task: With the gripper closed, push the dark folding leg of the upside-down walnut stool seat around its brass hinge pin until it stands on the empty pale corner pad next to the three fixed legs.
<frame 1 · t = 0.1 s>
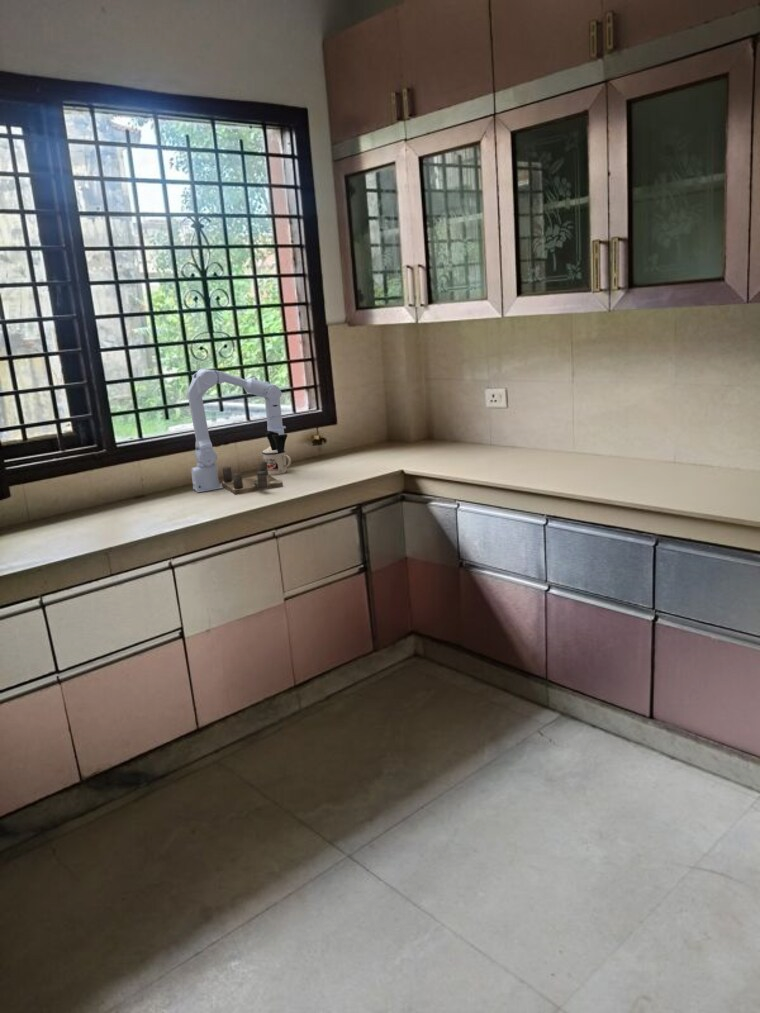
hand: (277, 451, 298), 10 cm above the worktop, tool pointing down, fingers open, 7 cm apart
stool seat: (252, 486, 289), on the worktop
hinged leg: (259, 478, 278), point 5 cm above the worktop, hinge at -90.0°
teacup with lid: (279, 473, 309), on the worktop
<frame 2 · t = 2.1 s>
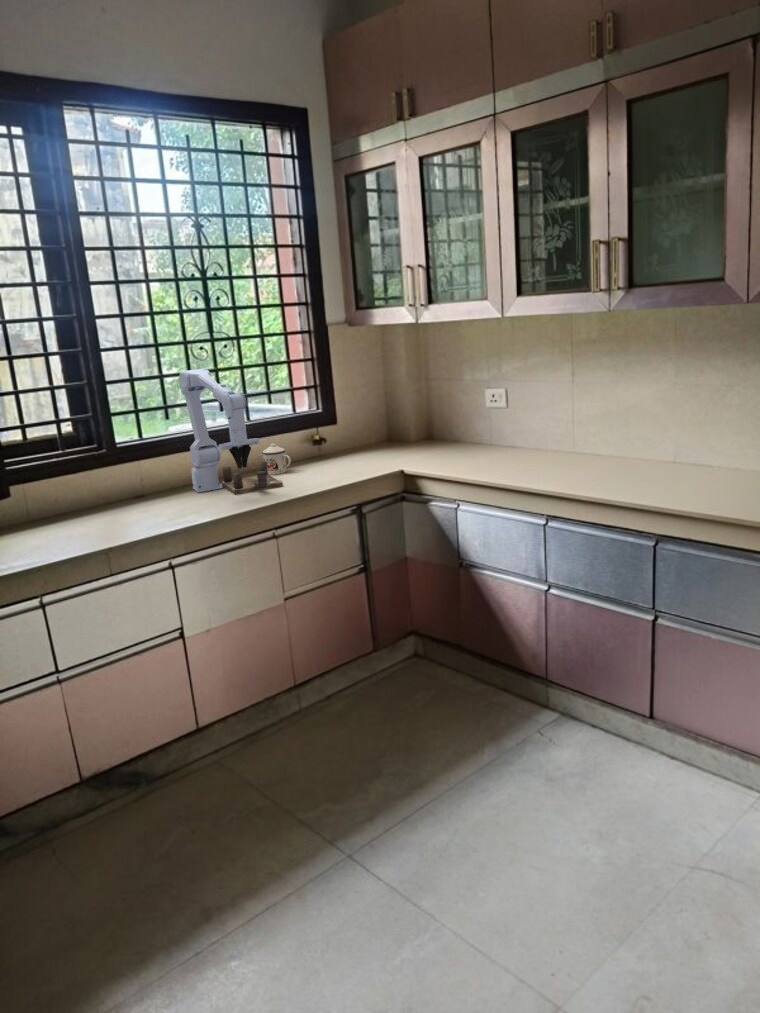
hand: (242, 467, 271), 10 cm above the worktop, tool pointing down, fingers closed
nothing on the worktop moved.
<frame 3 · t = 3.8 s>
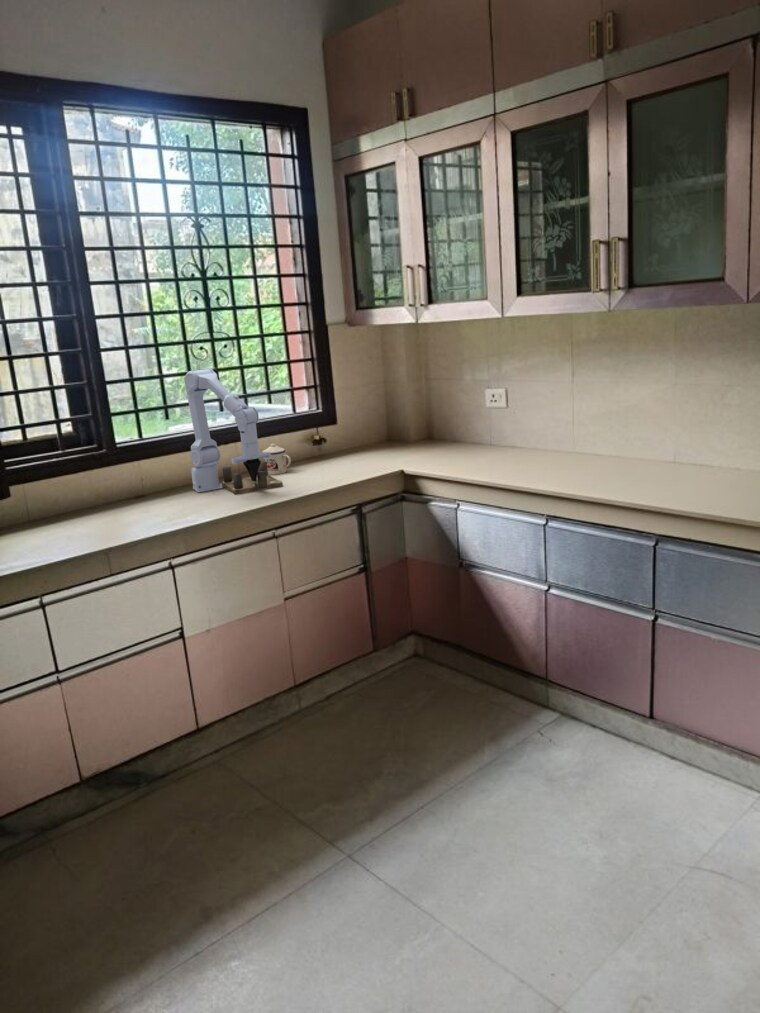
hand: (254, 480, 274), 5 cm above the worktop, tool pointing down, fingers closed
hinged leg: (259, 478, 278), point 5 cm above the worktop, hinge at -90.0°, touching gripper
everything else where it was.
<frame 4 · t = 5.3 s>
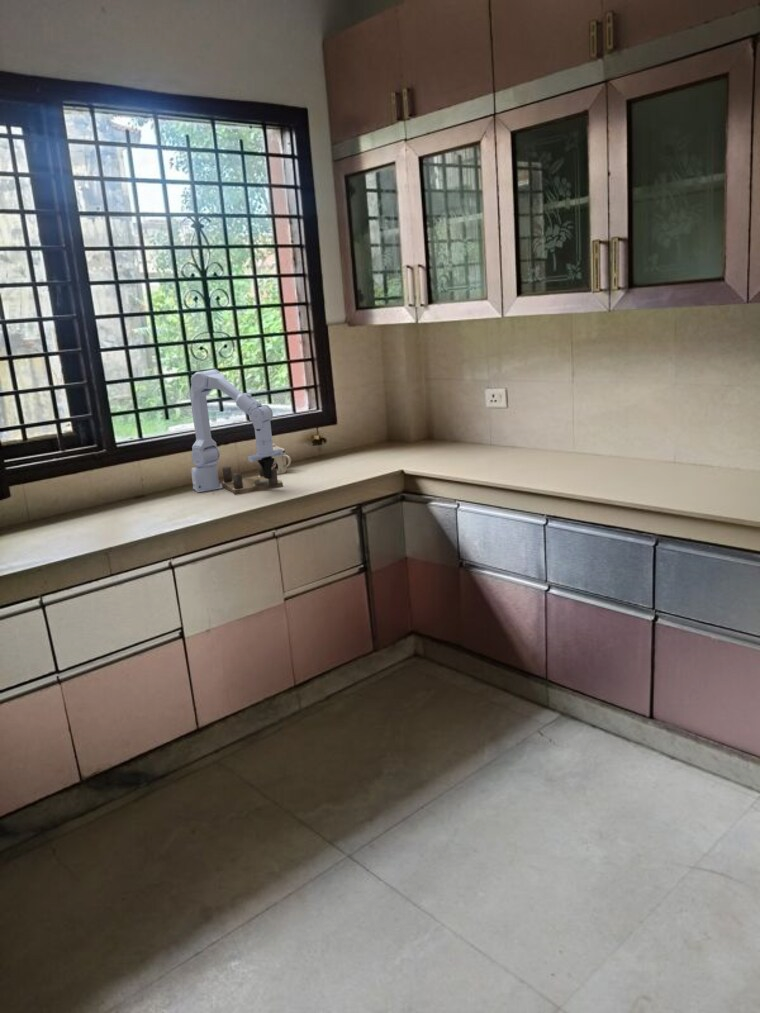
hand: (268, 478, 277), 5 cm above the worktop, tool pointing down, fingers closed, pressing on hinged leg
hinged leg: (265, 476, 280), point 5 cm above the worktop, hinge at -50.9°, touching gripper
everything else where it was.
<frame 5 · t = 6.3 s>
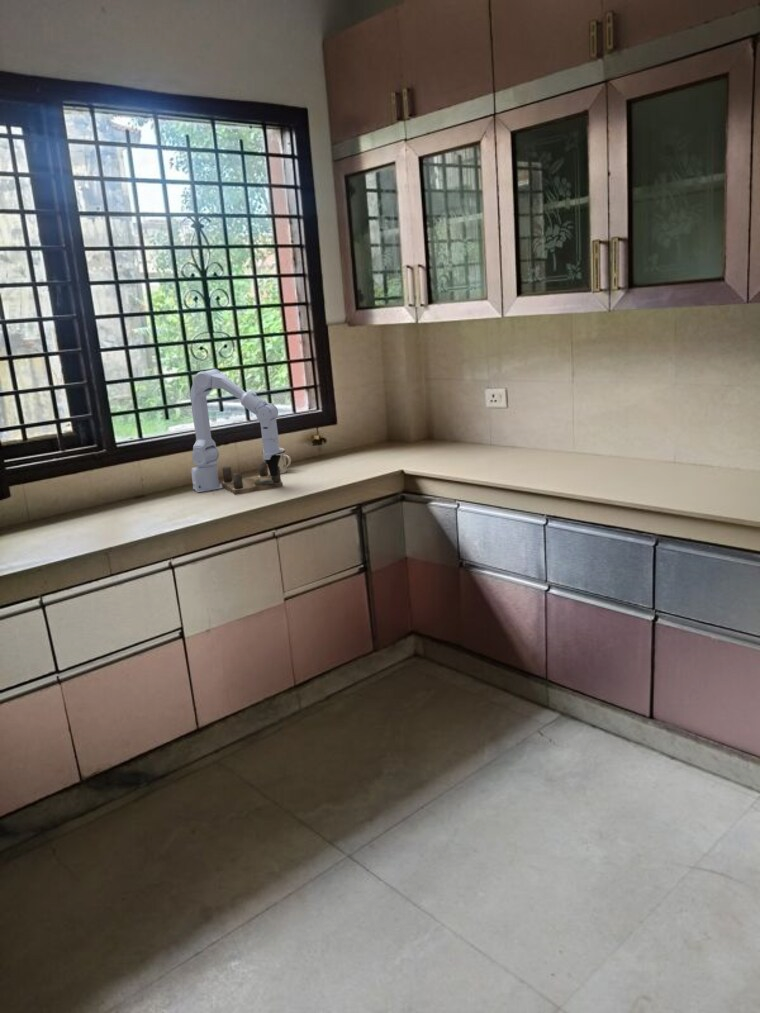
hand: (274, 475, 280), 5 cm above the worktop, tool pointing down, fingers closed, pressing on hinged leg
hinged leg: (267, 475, 282), point 5 cm above the worktop, hinge at -17.6°, touching gripper
everything else where it was.
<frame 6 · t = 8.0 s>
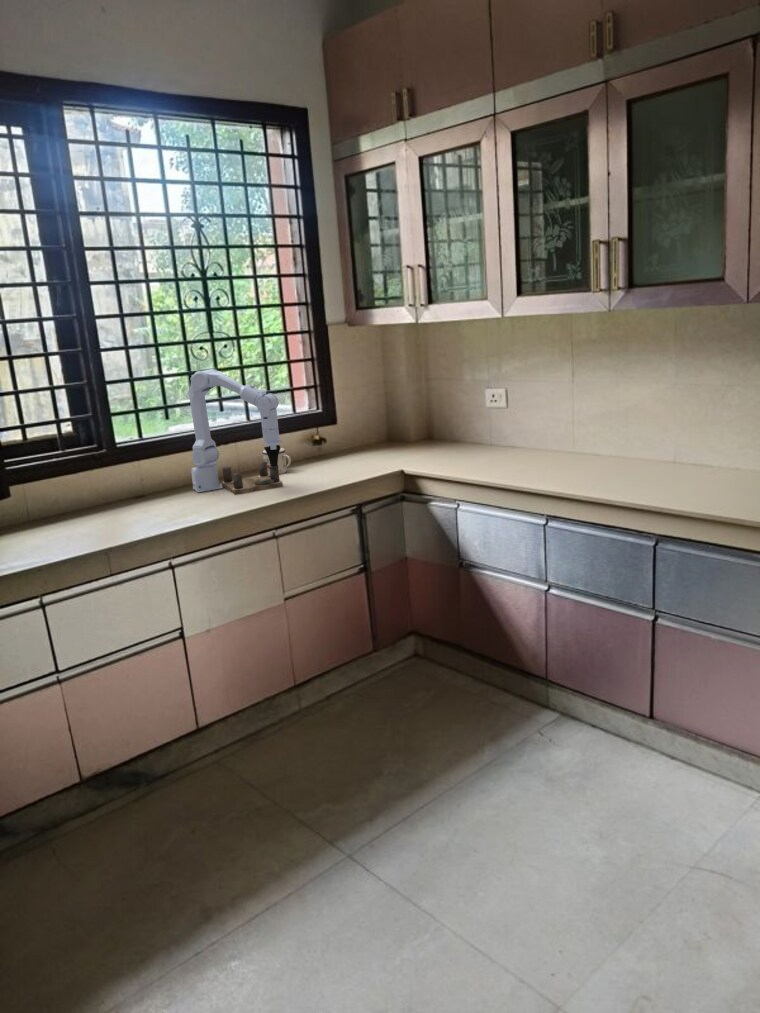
hand: (274, 466, 278), 9 cm above the worktop, tool pointing down, fingers closed
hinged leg: (266, 474, 283), point 5 cm above the worktop, hinge at 2.9°
everything else where it was.
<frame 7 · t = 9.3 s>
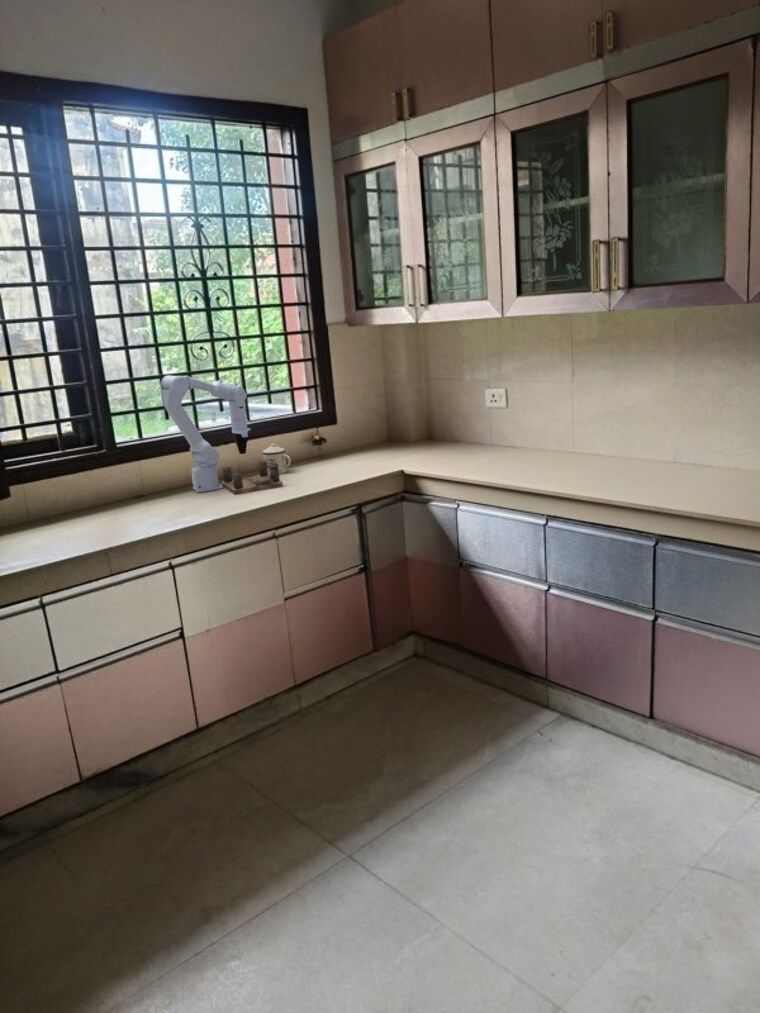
hand: (242, 453, 298), 10 cm above the worktop, tool pointing down, fingers closed
nothing on the worktop moved.
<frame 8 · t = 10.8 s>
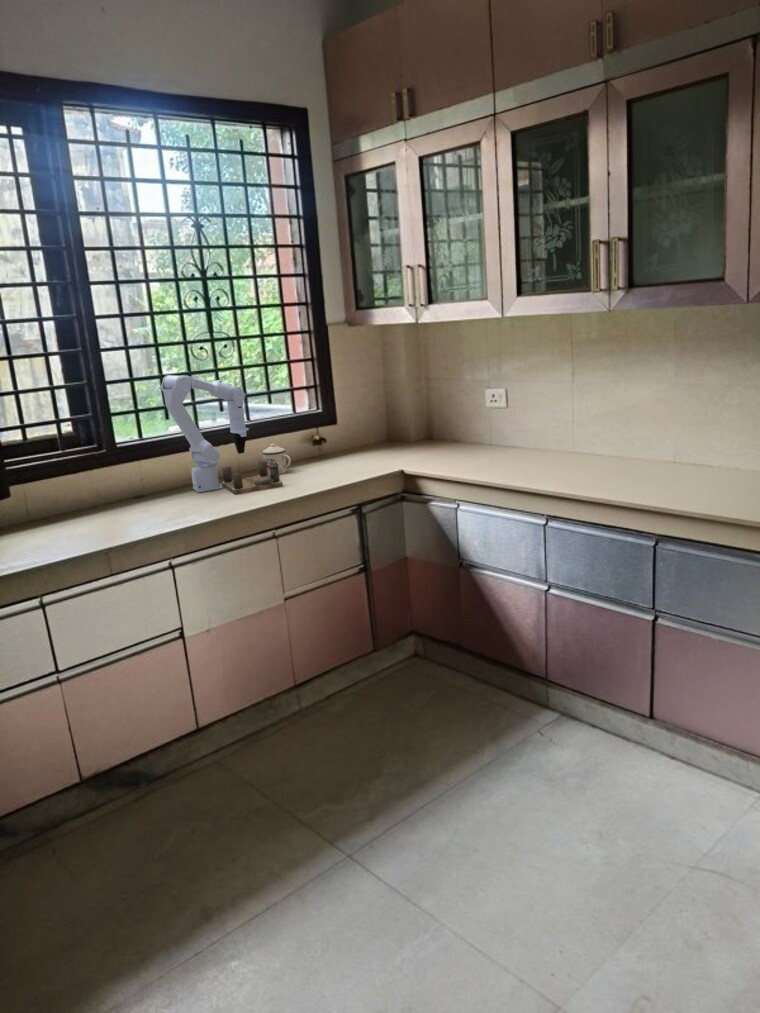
hand: (241, 453, 299), 10 cm above the worktop, tool pointing down, fingers closed
nothing on the worktop moved.
at the end: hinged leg at +3° (first picture: -90°); teacup with lid moved 0.2 cm from its start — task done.
